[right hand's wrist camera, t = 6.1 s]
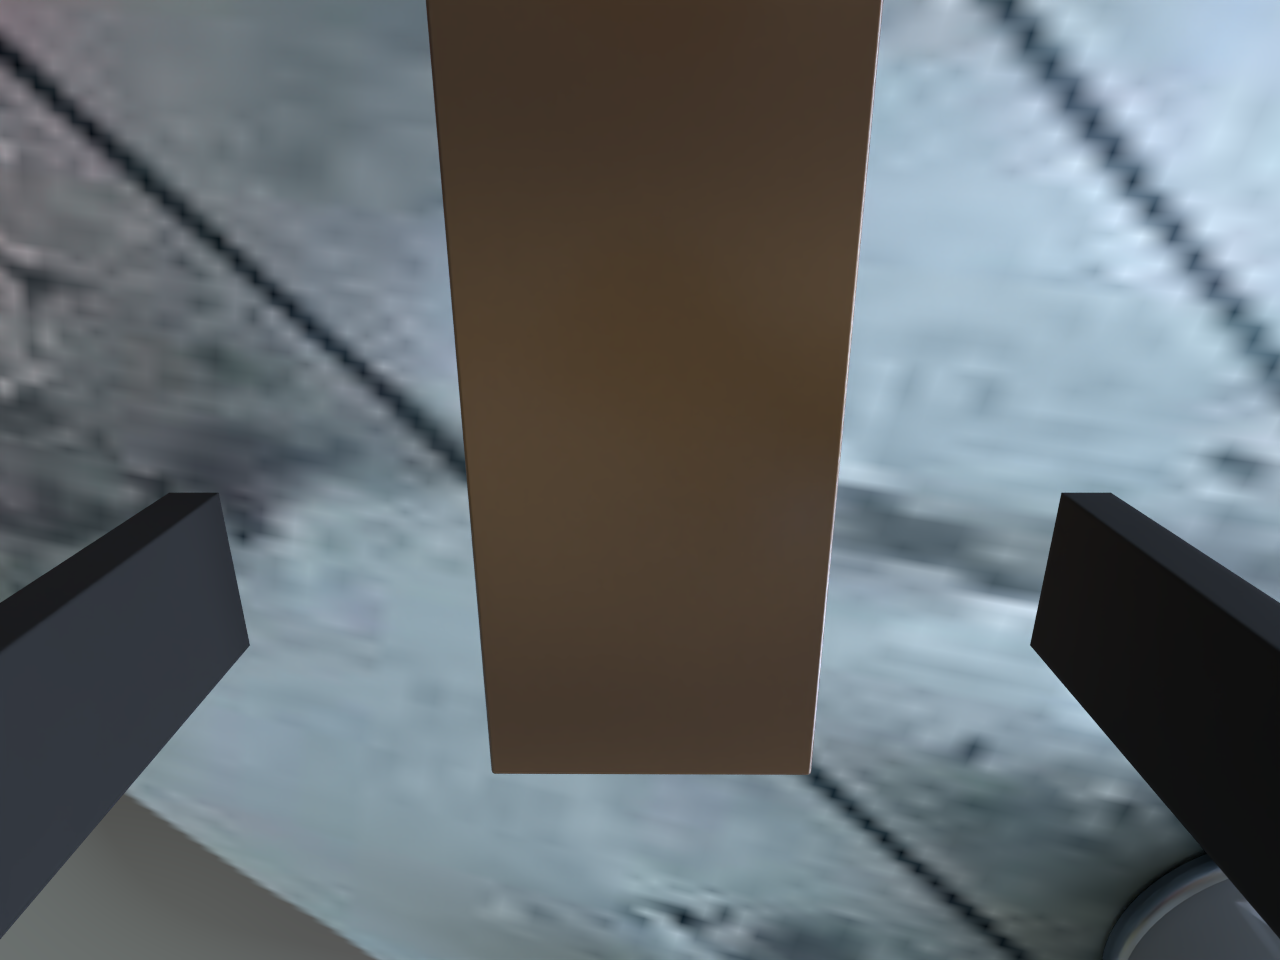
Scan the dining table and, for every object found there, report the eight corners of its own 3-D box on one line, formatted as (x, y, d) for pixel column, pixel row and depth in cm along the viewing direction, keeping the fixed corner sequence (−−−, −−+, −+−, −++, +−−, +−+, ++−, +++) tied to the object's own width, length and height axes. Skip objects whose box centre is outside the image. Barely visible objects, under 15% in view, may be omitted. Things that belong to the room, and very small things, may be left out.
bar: (751, 562, 22) (811, 775, 14) (547, 562, 22) (491, 775, 14) (816, -638, 14) (1053, -1782, 6) (489, -635, 14) (272, -1767, 6)
